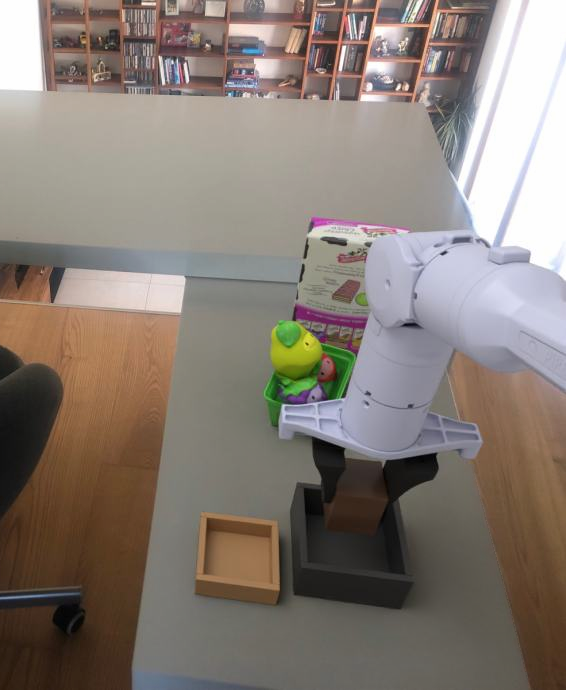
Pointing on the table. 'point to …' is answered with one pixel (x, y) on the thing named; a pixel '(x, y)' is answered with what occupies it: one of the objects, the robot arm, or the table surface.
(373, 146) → the table surface
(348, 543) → the black basket
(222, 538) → the kraft box
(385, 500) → the walnut block
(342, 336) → the candy bar box
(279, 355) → the fruit basket
